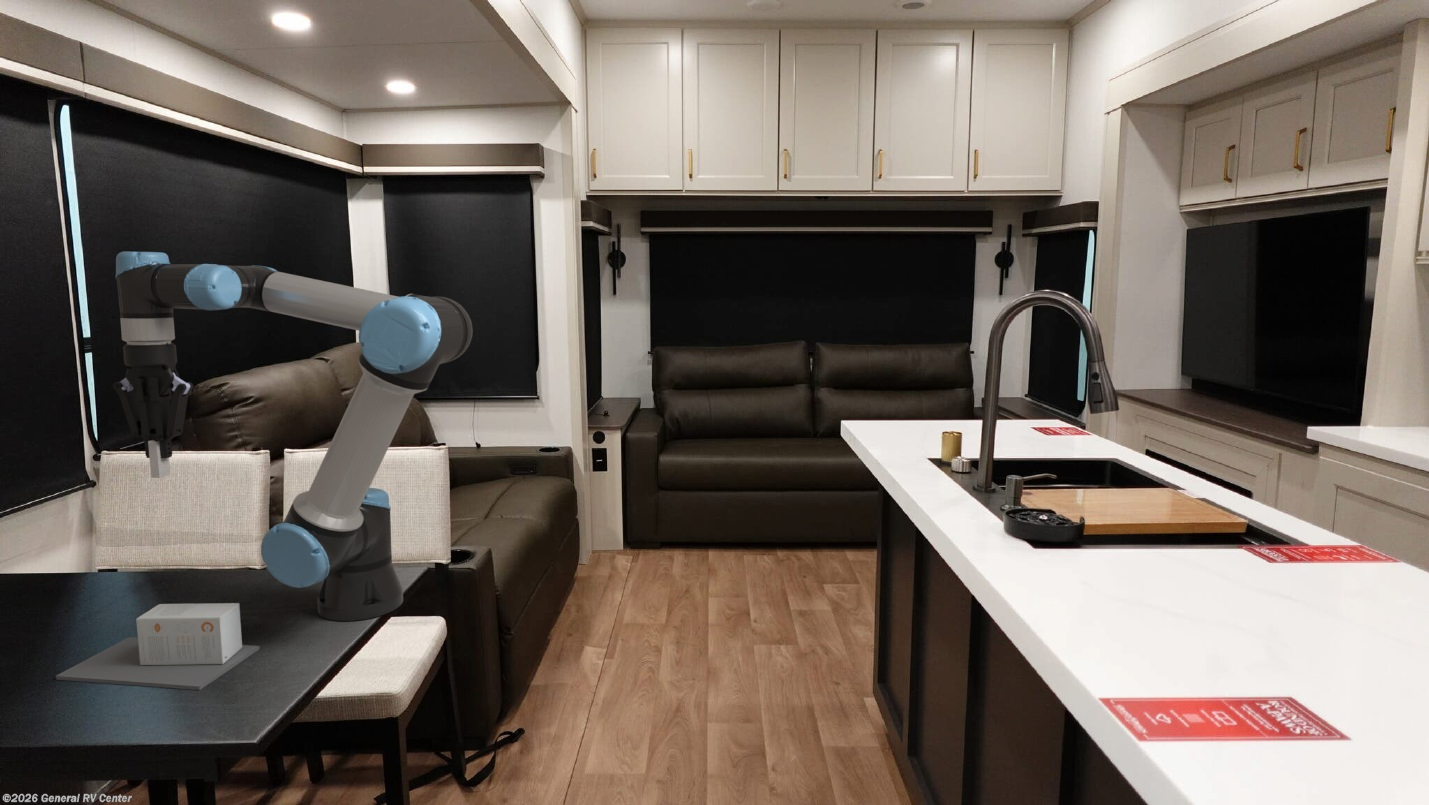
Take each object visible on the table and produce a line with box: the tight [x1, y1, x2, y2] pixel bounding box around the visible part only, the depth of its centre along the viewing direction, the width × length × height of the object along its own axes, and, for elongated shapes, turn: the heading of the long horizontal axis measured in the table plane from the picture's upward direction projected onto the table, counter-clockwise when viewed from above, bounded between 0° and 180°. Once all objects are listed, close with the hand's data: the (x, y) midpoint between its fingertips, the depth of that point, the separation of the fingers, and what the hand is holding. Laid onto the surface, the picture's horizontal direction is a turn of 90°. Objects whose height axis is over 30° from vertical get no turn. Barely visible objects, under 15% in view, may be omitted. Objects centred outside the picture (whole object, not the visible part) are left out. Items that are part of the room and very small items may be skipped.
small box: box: [135, 602, 243, 665], centre depth 133 cm, size 8×6×13 cm
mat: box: [55, 636, 261, 691], centre depth 132 cm, size 24×14×1 cm, turn 84°
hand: (160, 475), depth 143 cm, fingers closed
